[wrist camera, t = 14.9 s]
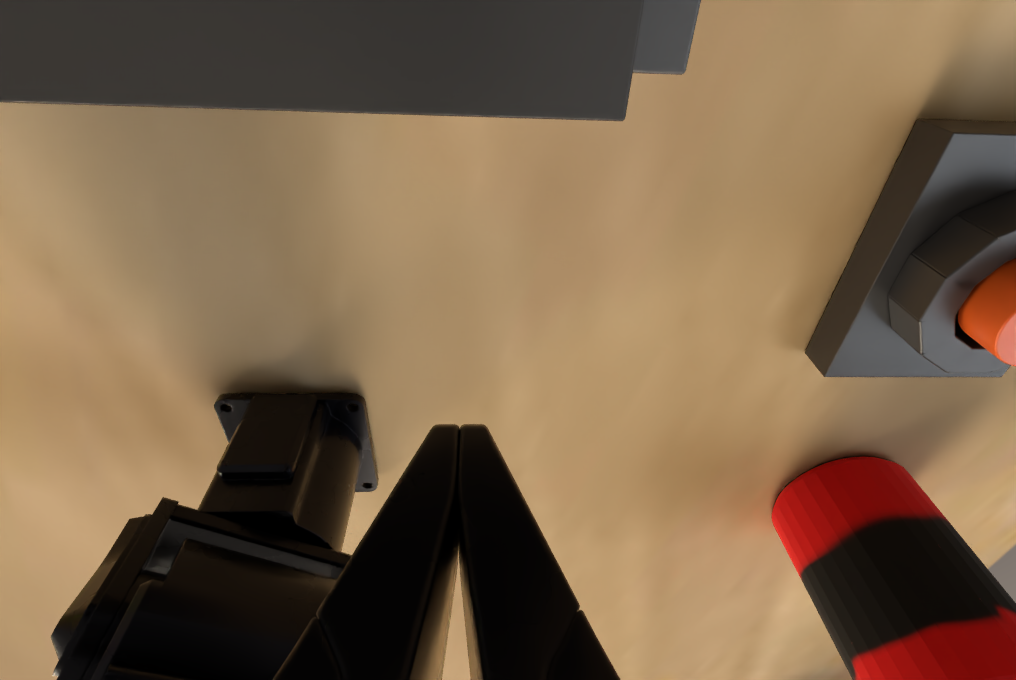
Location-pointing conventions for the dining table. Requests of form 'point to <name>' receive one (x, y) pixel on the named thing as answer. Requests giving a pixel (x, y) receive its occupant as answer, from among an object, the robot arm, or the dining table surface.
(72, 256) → the dining table surface
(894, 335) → the panel
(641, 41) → the drawer
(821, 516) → the soda can
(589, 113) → the dark grey hollow box
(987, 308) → the button
